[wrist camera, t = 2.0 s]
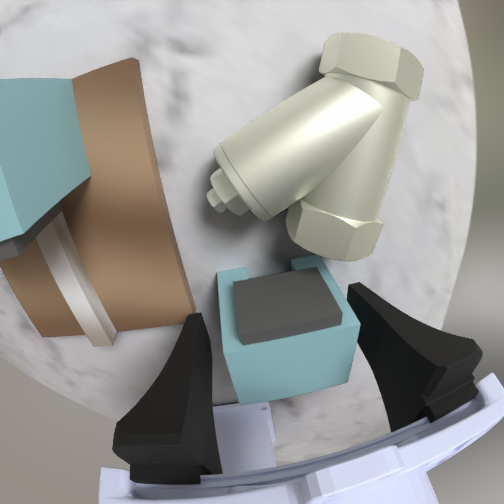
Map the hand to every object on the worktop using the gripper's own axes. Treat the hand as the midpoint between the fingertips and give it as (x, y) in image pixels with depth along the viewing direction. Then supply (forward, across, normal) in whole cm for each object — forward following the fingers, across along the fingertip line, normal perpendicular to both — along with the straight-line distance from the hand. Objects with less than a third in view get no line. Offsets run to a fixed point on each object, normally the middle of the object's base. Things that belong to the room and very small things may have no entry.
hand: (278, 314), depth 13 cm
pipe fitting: (+2, -2, -8) cm, 8 cm away
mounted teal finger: (+1, +9, -10) cm, 13 cm away
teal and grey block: (+2, 0, 0) cm, 2 cm away
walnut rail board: (+2, +9, -6) cm, 11 cm away
